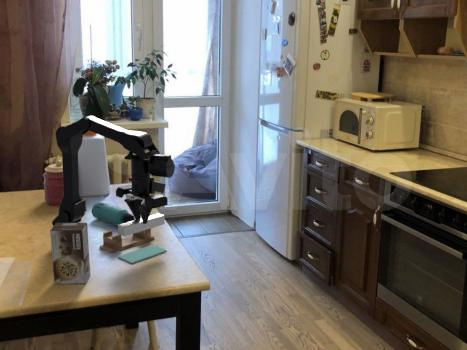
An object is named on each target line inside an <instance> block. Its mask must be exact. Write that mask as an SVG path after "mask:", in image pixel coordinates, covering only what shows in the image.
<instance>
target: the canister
mask: <svg viewBox="0 0 467 350" xmlns="http://www.w3.org/2000/svg"><path fill="white" fill-rule="evenodd" d="M44 171H45V172H44V173H43V174H42V177H43V178H44V181H43V188H44V190H43V191H44V201H45V204H46V205H47V206H51V207H52V206H53V207H59V205H60V203H61V200H62V198H63V167H62V159H57V160H56V161H55V163H52V164H49V165H47V166H46V167H45V168H44Z"/></svg>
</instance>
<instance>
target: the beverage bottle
mask: <svg viewBox="0 0 467 350" xmlns="http://www.w3.org/2000/svg"><path fill="white" fill-rule="evenodd" d="M91 215H92V217H93V218H95V219H97V220H100V221H104V222H107V223H111V224H114V225H115V226H118V225H119V224H122V223H126V222H129V221H133V220H136V219H135V217H134V215H133V214H131V213H130V212H129V211H128V210H127V209H124V208H120V207H119V206H114V205H111V204H109V203H105V202H102V201H101V202H100V201H97V202H95V204H93V206H92V208H91Z"/></svg>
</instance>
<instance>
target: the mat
mask: <svg viewBox="0 0 467 350" xmlns="http://www.w3.org/2000/svg"><path fill="white" fill-rule="evenodd" d="M166 251H167V252H168V250H167V249H165V248H162V247H160V246H157V245H155V244H150V245H147V246H145V247H141V248H139V249H135V250H132V251H129V252H126V253H123V254H121V255H118V256H117V258H118V259H120V260H122V261H124V262H127V263H130V264H132V265H135V264H136V263H139V262H141V261H145V260H147V258H148V259H150V258H153V257H156V256H158V254H159V255H162V254H164V253H166ZM161 253H162V254H161ZM144 259H145V260H144Z"/></svg>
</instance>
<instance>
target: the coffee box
mask: <svg viewBox="0 0 467 350" xmlns="http://www.w3.org/2000/svg"><path fill="white" fill-rule="evenodd" d="M49 235H50V247H51V257H52V259H51V260H52V271H53V284H54V285H68V284H70V285H71V284H72V285H74V284H76V283H78V285H79V283H86V284H87V283H88V281H89V279H90V277H91V266H90V265H91V264H90V262H91V261H90V250H89V249H90V247H89V233H88V222H78V223H56V224H55V225H54V226H53V225H52V227H51V229H50V230H49Z"/></svg>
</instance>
